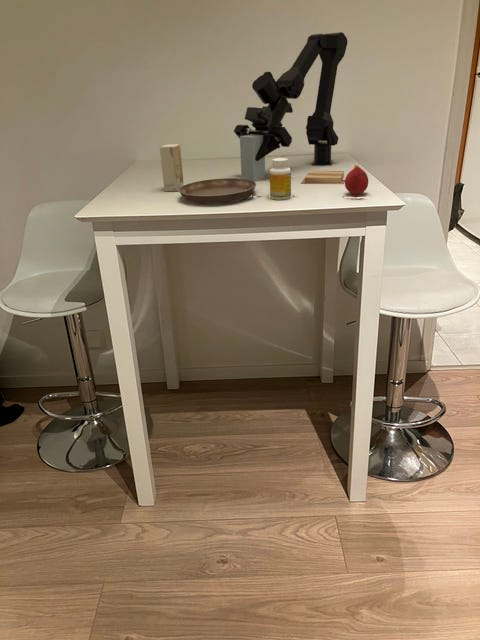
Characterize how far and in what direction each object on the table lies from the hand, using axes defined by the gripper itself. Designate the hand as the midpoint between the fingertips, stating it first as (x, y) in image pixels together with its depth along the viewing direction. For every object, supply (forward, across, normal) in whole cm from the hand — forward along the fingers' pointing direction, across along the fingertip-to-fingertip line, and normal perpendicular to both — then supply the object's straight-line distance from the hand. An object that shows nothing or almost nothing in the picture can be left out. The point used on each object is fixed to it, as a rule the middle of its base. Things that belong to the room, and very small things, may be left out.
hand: (249, 159), depth 152 cm
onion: (+4, +36, +6) cm, 37 cm away
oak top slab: (-4, +18, +13) cm, 23 cm away
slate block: (+4, 0, +6) cm, 7 cm away
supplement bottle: (+12, +20, -2) cm, 24 cm away
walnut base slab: (-3, +18, +14) cm, 23 cm away
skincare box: (+18, -13, -8) cm, 23 cm away
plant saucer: (+18, +6, -8) cm, 21 cm away
